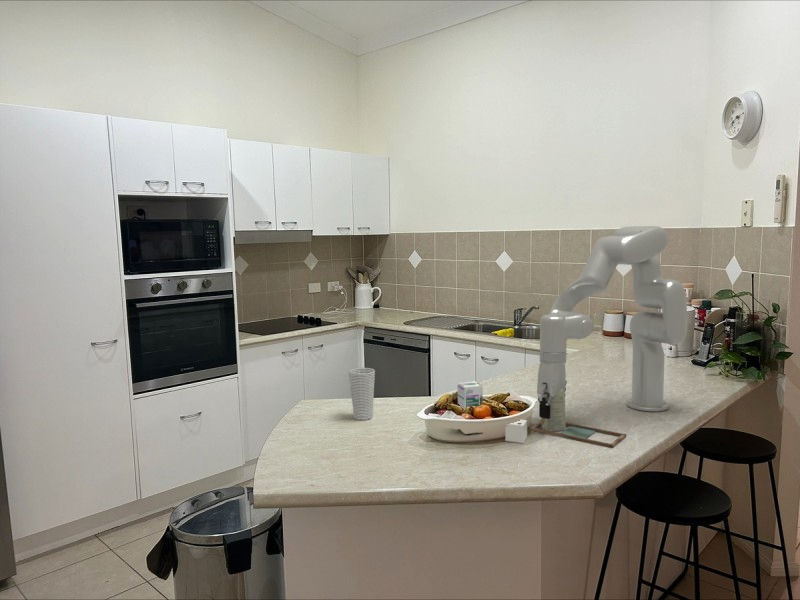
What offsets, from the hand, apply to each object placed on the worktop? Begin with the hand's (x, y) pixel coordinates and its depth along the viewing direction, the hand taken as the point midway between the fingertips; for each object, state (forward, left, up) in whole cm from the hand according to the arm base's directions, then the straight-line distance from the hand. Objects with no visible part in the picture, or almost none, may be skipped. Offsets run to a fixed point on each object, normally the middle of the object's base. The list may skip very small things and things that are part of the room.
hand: (552, 413), depth 171 cm
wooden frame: (0, +8, -5) cm, 9 cm away
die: (+14, -4, -5) cm, 15 cm away
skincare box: (0, 0, -5) cm, 5 cm away
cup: (+25, -53, -5) cm, 59 cm away
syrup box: (+16, -18, -5) cm, 25 cm away
